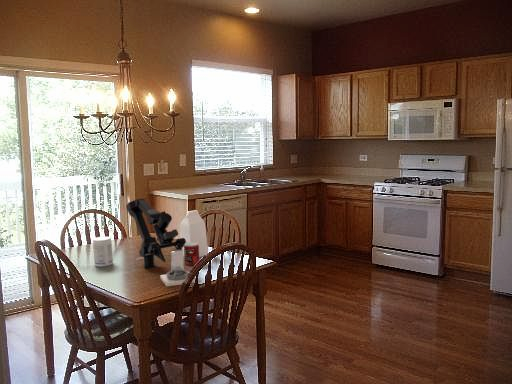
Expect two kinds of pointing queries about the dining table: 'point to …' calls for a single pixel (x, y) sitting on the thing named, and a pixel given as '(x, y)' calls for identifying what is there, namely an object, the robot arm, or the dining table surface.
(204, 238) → the milk
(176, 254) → the tube
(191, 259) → the canned food
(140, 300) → the dining table surface
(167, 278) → the flange plate
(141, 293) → the dining table surface
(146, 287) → the dining table surface
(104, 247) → the supplement tub
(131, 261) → the dining table surface
